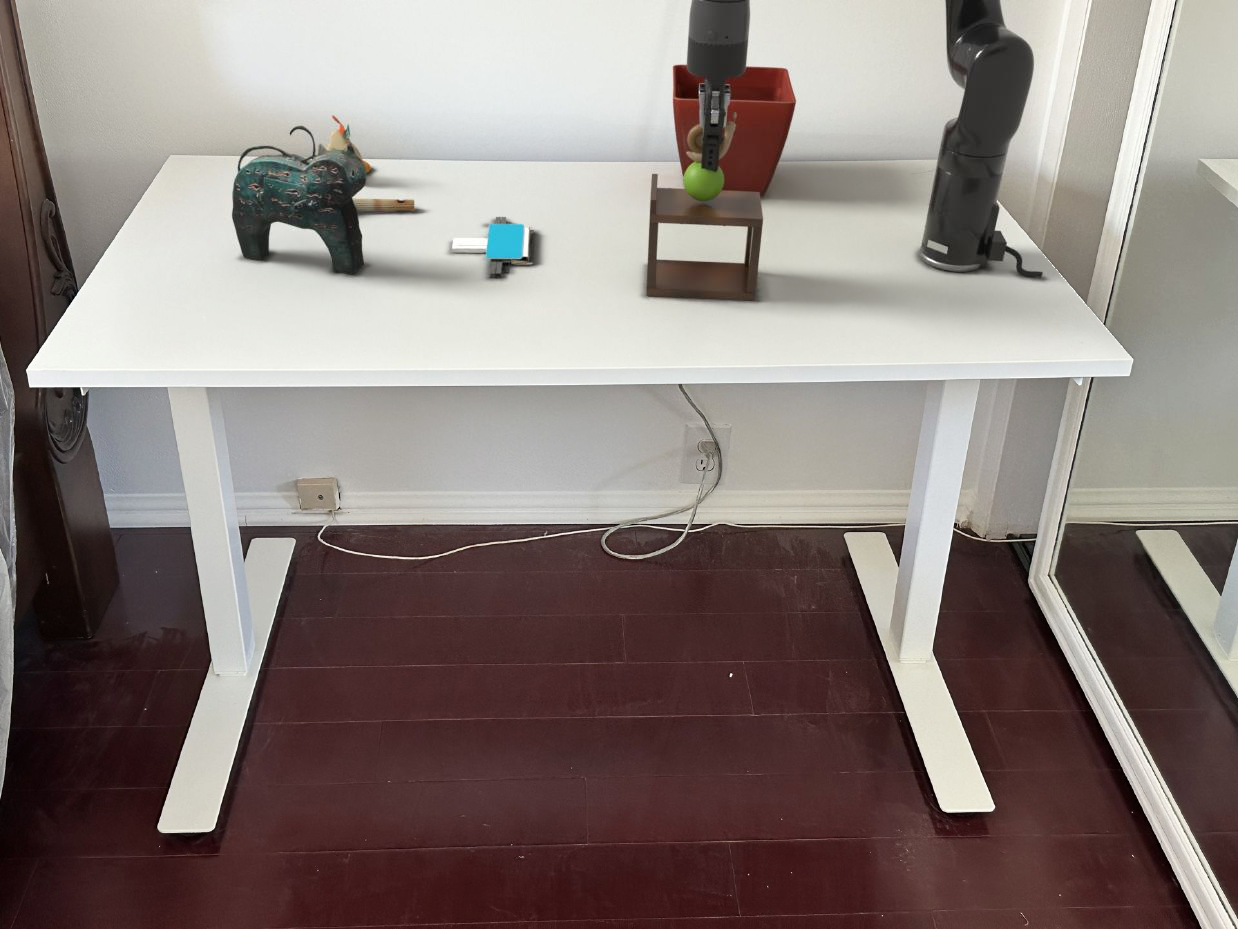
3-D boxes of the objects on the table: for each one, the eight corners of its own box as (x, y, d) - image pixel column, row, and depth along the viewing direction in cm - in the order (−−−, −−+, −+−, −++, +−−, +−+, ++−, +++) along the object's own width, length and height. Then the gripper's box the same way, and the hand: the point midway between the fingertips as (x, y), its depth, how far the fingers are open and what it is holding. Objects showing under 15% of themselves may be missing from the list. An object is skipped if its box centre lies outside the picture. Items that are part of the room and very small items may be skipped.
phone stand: (457, 220, 181) (457, 210, 180) (534, 221, 181) (534, 211, 181) (447, 277, 164) (447, 266, 164) (532, 278, 165) (532, 267, 164)
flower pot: (667, 160, 205) (672, 62, 195) (777, 164, 204) (787, 66, 195) (667, 202, 189) (672, 98, 180) (785, 206, 189) (797, 102, 179)
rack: (751, 270, 169) (760, 177, 161) (754, 300, 161) (764, 204, 153) (647, 266, 169) (652, 173, 161) (646, 296, 161) (650, 199, 153)
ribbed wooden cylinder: (283, 188, 181) (414, 192, 184) (285, 205, 183) (414, 209, 185) (280, 198, 178) (413, 202, 181) (282, 215, 180) (413, 218, 182)
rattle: (391, 179, 194) (385, 110, 188) (348, 190, 190) (341, 121, 183) (366, 166, 199) (359, 99, 192) (324, 177, 194) (315, 109, 187)
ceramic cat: (378, 264, 168) (364, 126, 156) (358, 283, 162) (342, 142, 151) (254, 245, 172) (231, 109, 160) (230, 263, 167) (205, 124, 155)
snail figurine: (729, 209, 156) (736, 120, 149) (681, 206, 156) (686, 117, 149) (730, 193, 160) (737, 106, 153) (683, 190, 160) (688, 103, 154)
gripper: (751, 50, 140) (739, 188, 150) (746, 20, 151) (735, 150, 161) (688, 47, 140) (680, 186, 150) (688, 18, 151) (681, 148, 161)
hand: (709, 167), depth 155 cm, fingers closed on snail figurine
